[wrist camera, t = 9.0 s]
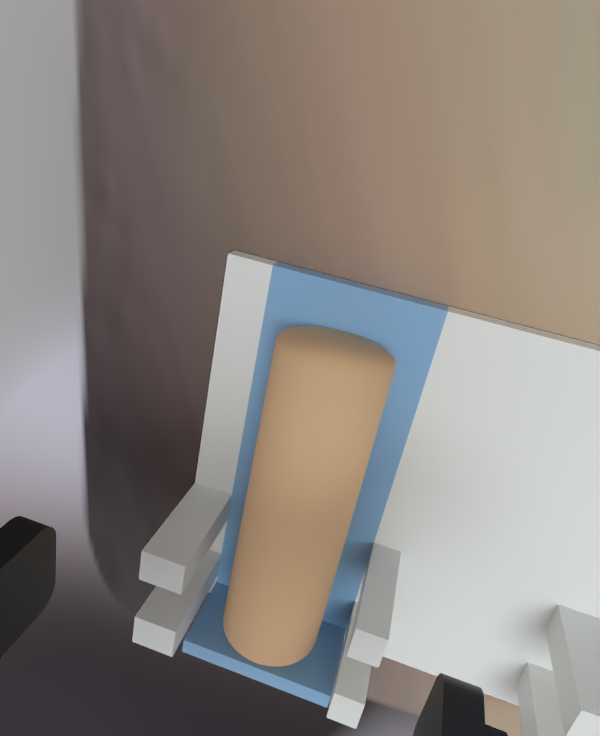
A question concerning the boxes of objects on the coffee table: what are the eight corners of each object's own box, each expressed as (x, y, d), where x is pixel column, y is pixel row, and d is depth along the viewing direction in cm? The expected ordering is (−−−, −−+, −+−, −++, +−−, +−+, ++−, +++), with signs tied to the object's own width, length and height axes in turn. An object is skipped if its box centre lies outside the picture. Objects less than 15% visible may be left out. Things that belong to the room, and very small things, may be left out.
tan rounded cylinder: (294, 317, 18) (258, 353, 15) (402, 346, 17) (388, 391, 14) (243, 574, 22) (207, 643, 19) (327, 604, 22) (304, 681, 19)
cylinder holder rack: (234, 250, 18) (169, 280, 14) (728, 378, 16) (824, 461, 12) (186, 572, 24) (130, 661, 20) (545, 702, 22) (566, 834, 17)
